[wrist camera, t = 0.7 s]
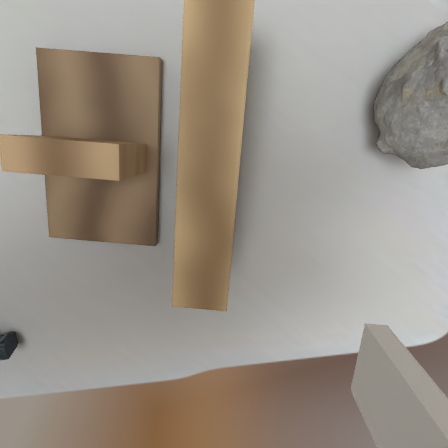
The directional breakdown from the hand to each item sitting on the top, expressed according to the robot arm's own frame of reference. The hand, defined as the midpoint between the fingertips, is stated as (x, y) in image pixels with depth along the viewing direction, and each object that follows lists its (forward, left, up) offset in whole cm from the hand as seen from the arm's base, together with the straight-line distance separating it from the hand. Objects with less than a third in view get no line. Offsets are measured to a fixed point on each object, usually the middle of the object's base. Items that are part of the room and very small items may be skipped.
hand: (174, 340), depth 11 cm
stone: (+15, +11, -19) cm, 27 cm away
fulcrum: (-10, +5, -19) cm, 22 cm away
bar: (0, +5, -15) cm, 16 cm away
